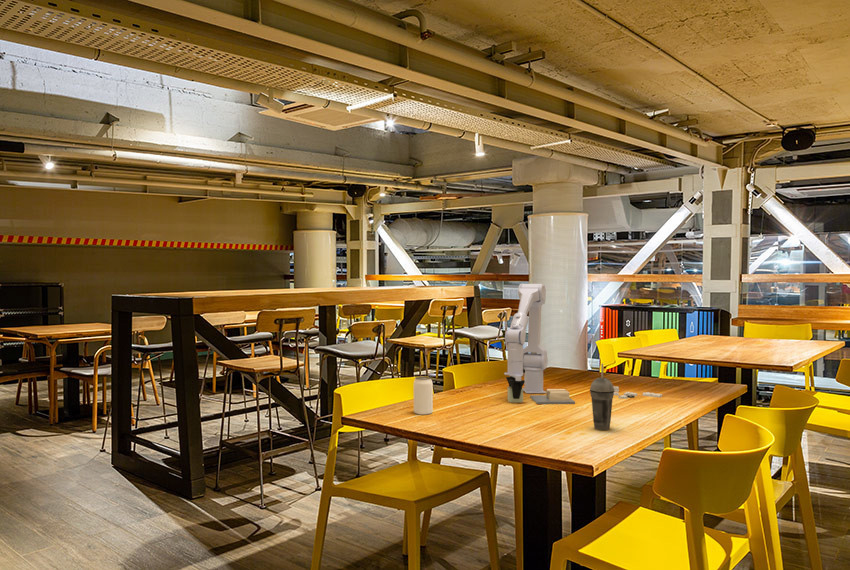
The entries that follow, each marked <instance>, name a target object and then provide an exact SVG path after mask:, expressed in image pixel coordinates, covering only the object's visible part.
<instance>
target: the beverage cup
mask: <svg viewBox="0 0 850 570" xmlns="http://www.w3.org/2000/svg"><path fill="white" fill-rule="evenodd" d="M600 369H601V373H600V374H601V375H600V377H597V378H595V379H594V380H593V381H592V382H591V385H590V387H589V394H590V397H591V406H592V408H591V409H592V410H591V411H592V420H593V428H594V429H595V430H597V431H609V430H610V428H611V427H610V426H611V422H612V421H611V418H612V410H613V409H612V408H613V398H614V397H615V395H614V387H615V386H614V384H613V383H612V381H611V380H610V379H608V378H606V377H604V363H601V368H600ZM613 386H614V387H613Z"/></svg>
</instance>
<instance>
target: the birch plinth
mask: <svg viewBox="0 0 850 570" xmlns="http://www.w3.org/2000/svg"><path fill="white" fill-rule="evenodd" d="M545 392H546V393H545V395H546V397H547V398H548V399H549V400H550V401H557V400H569V398H570V391H568V390H567V389H565V388H562V389H561V388H546V390H545Z"/></svg>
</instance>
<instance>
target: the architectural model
mask: <svg viewBox="0 0 850 570" xmlns="http://www.w3.org/2000/svg"><path fill="white" fill-rule="evenodd" d="M613 387H614V396H617V397H618V399H623V400H624V399H625V400H627V399H628V398H629V399H632V398H633V399H634V398H635V397H637V396H638V393H637V392H632V391H631V392H630V391H625V392H624V393H623V394H622V395H620V393H619V391H620V389H619V386H615V385H613ZM642 396H643V397H644V396H645V397H650V398H651V397H653V398H661V397H663V393H655V392H649V391H647V392H642Z"/></svg>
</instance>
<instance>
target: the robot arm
mask: <svg viewBox="0 0 850 570" xmlns="http://www.w3.org/2000/svg"><path fill="white" fill-rule="evenodd" d="M517 289H518V290H517V295H518V298H519V305H518V311H517V312H516V313H514V315H513V317H512V320H511V323H510V327H509V329H507V330H506V331H505V335H504V341H505V347H506V349H507V371H506V372H504V373H503V374H504V375H505V376H506V377H505V378H506V381H507V383H508V387H512V393H513V398H514V399H519V398H520V394H521V389H522V388H523V393H524V392H525V394H546V390H544V370H545V369H547V367H548V364H549V363H548V361H549V360H548V352H547V350H546V349H545V348H544V347H543V346H542V345H541V330H542V329H541V326H542V325H541V321H542V320H541V319H542V318H541V317H542V306H543V305H545V303H546V299H547V297H546V292H547V291H546V286H545V285H544V283H519V285H518V288H517ZM527 325H528V334H527V331H526V329H527ZM526 335H528V338H527V346H526V347H524V344H525V342H526ZM522 377H524V378H523V379H524V380H523V379H522ZM523 385H524V387H523Z"/></svg>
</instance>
